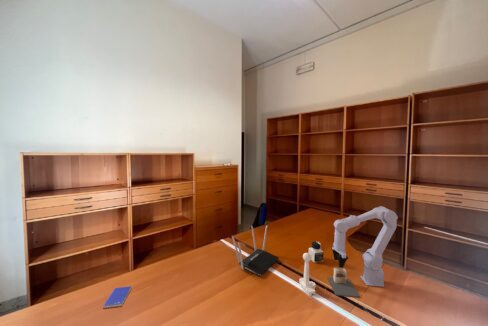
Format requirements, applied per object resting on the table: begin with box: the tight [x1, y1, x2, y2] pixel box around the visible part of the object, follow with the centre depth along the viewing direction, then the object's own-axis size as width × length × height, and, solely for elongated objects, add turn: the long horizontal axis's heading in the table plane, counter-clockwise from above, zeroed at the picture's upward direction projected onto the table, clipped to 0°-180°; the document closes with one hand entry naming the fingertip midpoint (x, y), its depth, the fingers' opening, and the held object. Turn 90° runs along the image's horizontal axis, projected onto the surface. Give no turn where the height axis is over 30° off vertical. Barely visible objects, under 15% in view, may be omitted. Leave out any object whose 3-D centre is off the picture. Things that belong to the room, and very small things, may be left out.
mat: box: [327, 277, 361, 298], centre depth 110 cm, size 12×14×1 cm
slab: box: [332, 267, 348, 284], centre depth 114 cm, size 6×3×7 cm, turn 84°
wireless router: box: [231, 225, 280, 276], centre depth 133 cm, size 34×23×20 cm
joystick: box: [298, 252, 316, 297], centre depth 109 cm, size 11×8×20 cm
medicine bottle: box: [308, 241, 325, 264], centre depth 137 cm, size 7×7×12 cm
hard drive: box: [102, 285, 132, 309], centre depth 101 cm, size 2×8×12 cm
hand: (338, 263), depth 117 cm, fingers open, 7 cm apart
